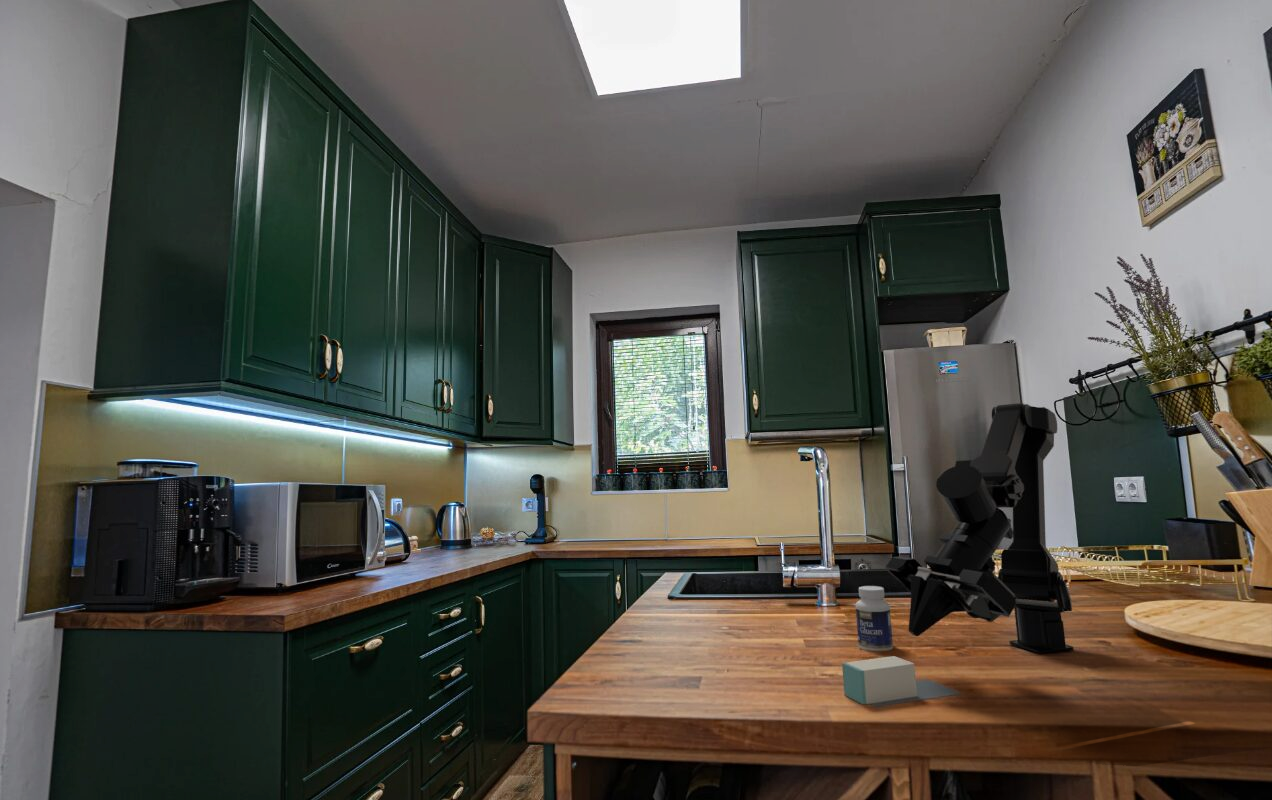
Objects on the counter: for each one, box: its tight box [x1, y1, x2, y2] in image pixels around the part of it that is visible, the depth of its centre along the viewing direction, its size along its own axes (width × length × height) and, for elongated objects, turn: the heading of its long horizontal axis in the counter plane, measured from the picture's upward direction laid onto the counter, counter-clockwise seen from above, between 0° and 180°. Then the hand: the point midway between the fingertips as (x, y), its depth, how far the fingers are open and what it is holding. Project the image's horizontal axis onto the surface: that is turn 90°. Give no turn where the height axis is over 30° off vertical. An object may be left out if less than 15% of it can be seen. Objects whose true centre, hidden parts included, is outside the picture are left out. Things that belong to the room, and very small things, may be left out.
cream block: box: [841, 655, 917, 705], centre depth 86 cm, size 4×4×8 cm
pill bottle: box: [855, 585, 894, 652], centre depth 110 cm, size 5×5×10 cm
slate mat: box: [869, 678, 964, 708], centre depth 86 cm, size 13×7×1 cm, turn 106°
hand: (912, 633), depth 87 cm, fingers closed
